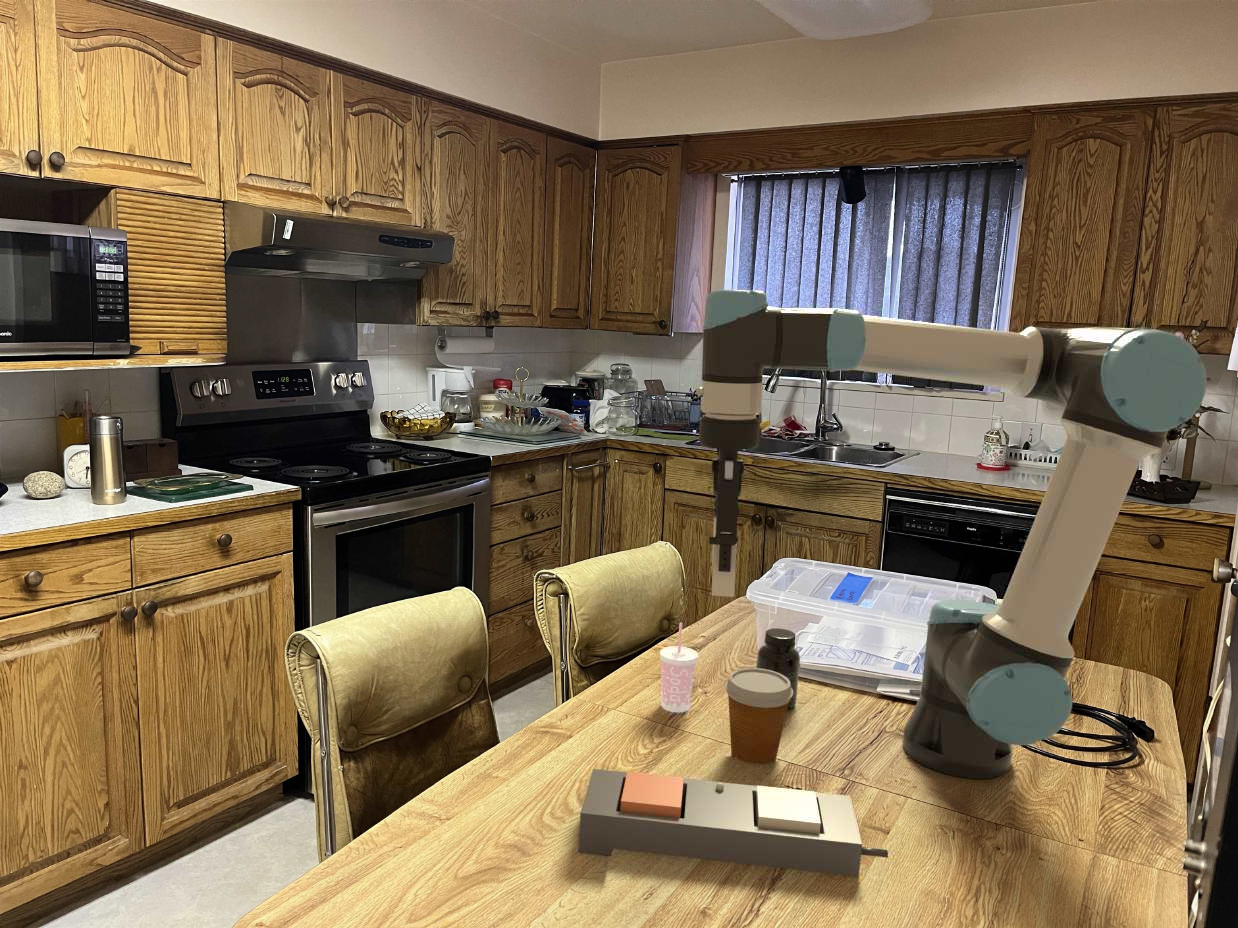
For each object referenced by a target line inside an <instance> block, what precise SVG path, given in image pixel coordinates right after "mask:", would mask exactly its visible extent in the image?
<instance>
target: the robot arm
mask: <svg viewBox="0 0 1238 928" xmlns="http://www.w3.org/2000/svg"><path fill="white" fill-rule="evenodd" d="M767 299H768V298H767V294H766V292H764V291H763V290H745V289H743V290H742V289H715V290H712V291H710V293H708V295H707V296H706V299H705V307H704V308H705V309H704V318H703V325H702V331H703V332H702V361H701V364H702V365H701V385H702V386H703V387H702V386H701V387H697V388H696V389H695V392H696V393H695V394H696V395H697V396H702V397H701V399H700V411H701V412H702V413H704V414H703V415H701V417H699V428H698V429H699V431H698V432H699V433H698V442H699V445H701V447H702V446H703V447H705V448H707V449H716V452H717V458H711V460H712V461H711V476H712V479H713V480H712V484H713V486H712V487H713V489H712V490H713V491H712V493H713V495H714V496H715V501H713V505H714V509H713V513H714V516H713V526H712V527H713V529H712V530H713V531H712V532H713V533H712V536H709V537H708V544H709V545H712V552H711V565H712V579H711V580H712V581H711V596H713V597H729V598H730V597H731V598H732V597H733V598H734V597H735V586H736V585H735V584H736V582H735V581H736V565H737V563H736V562H737V543H738V541H739V537H738V517H739V509H740V508H739V497H741V494H742V484H743V482H742V481H743V480H742V479H743V478H744V473H745V464H744V460H743V459H739V451H741V450H744V451H749V450H753V449H755V448H758V446H759V445H760V431H761V420H759V418H758V417H757V415H760V414H761V412H762V404H763V403H762V402H763V373H764V369H771V370H774V369H775V370H776V369H785V370H786V369H788V370H801V371H802V370H803V371H804V370H805V371H829V372H831V373H834V372H837V371H861V372H862V371H863V372H868V373H869V372H870V373H878V374H885V375H886V374H887V375H895V376H902V377H910V378H911V377H912V378H917V379H918V378H919V379H928V380H936V381H944V382H953V383H961V384H962V383H963V384H971V385H978V386H987V387H995V388H1002V389H1003V388H1004V389H1010V391H1011V392H1012V394H1013V395H1014V396H1015V397H1019V398H1025V399H1027V398H1028V399H1033V400H1039V401H1043V402H1046V403H1047V402H1048V403H1050V404H1054V405H1057V406H1059V407H1064V408H1065V409H1064V410H1063V413H1062V415H1061V417H1060V423H1061V425H1062V427H1063V429H1064V432H1066V441H1065V444H1064V446H1063V448H1062V450H1061V454H1060V456H1059V459H1058V460H1057V463H1056V465H1055V468H1054V471H1053V473H1052V475H1051V478H1050V481H1049V483H1048V486H1047V489H1046V490H1045V494H1044V496H1043V498H1042V501H1041V503H1040V506H1039V508H1038V511H1037V512H1036V516H1035V518H1034V521H1033V524H1032V525H1031V528H1030V531H1029V534H1028V536H1027V538H1026V541H1025V543H1024V547H1023V549H1022V551H1021V553H1020V556H1019V558H1018V561H1017V564H1016V566H1015V569H1014V572H1013V574H1012V576H1011V579H1010V581H1009V583H1008V587H1007V588H1006V591H1005V593H1004V596H1003V599H1002V602H1001V604H1000V605H998V604H993V603H987V602H983V601H973V600H963V599H962V600H960V599H954V600H951V599H948V600H942V601H938V602H936V603H934V604H933V606H932V607H931V608H930V612H929V613H930V614H929V617H928V621H927V622H926V623H927V624H926V625H927V632H926V633H927V634H926V640H925V641H926V643H925V649H924V650H925V651H924V659H923V661H924V662H923V670H922V679H921V688H920V694H919V695H920V696H919V699H918V701H917V702H916V704H915V706H914V709H913V711H912V712H911V715H910V716H909V718H908V720H907V722H906V724H905V726H904V728H903V735H902V736H903V738H902V747H903V749H904V751H905V752H906V753H907V754H908V756H910V758H912V759H914V761H916V762H918V763H919V764H921V765H923V766H925V767H927V768H929V769H932V770H935V772H939V773H944V774H946V775H950V776H953V777H959V778H964V779H965V778H968V779H978V780H979V779H981V780H983V779H992V778H998V777H1000V776H1002V775H1004V774H1006V773H1008V771H1009V770H1010V769H1011V765H1012V756H1013V748H1012V745H1014V746H1027V745H1028V746H1029V745H1034V744H1036V743H1037V742H1040V741H1041V740H1047V739H1049V738H1050V737H1052V736H1054V735H1055V734H1057V733H1058V732H1059V731H1060V730H1061V729H1062V728H1063V726H1064V725H1065V724H1066V722H1067V721H1068V719H1069V717H1070V714H1071V712H1072V709H1073V696H1072V692H1071V689H1070V686H1069V683H1068V681H1067V680H1066V676H1067V674H1068V671H1069V669H1070V667H1071V665H1072V662H1073V660H1074V658H1075V651H1074V648H1073V646H1072V645H1071V642H1070V640H1069V635H1070V631H1071V629H1072V627H1073V625H1074V623H1075V622H1074V621H1075V620H1076V617H1077V615H1078V612H1079V609H1080V607H1081V605H1082V602H1083V600H1084V598H1085V595H1086V593H1087V590H1088V588H1089V586H1090V584H1091V581H1092V578H1093V576H1094V575H1095V571H1096V569H1097V567H1098V564H1099V562H1100V560H1101V558H1102V557H1101V556H1102V555H1103V552H1104V550H1105V548H1106V547H1105V546H1106V545H1107V542H1108V540H1109V537H1110V536H1111V533H1112V531H1113V528H1114V526H1115V523H1116V520H1117V518H1118V516H1119V513H1120V511H1121V509H1122V506H1123V504H1124V501H1125V499H1126V497H1127V494H1128V492H1129V490H1130V487H1131V485H1132V482H1133V479H1134V478H1135V475H1136V472H1137V470H1138V469H1139V466H1140V463H1141V462H1142V461H1143V459H1145V458H1147V457H1149V456H1151V455H1154V454H1157V453H1160V452H1161V449H1162V447H1163V444H1164V442H1165V439H1166V438H1167V435H1168V434H1169V431H1170V430H1172V429H1175V428H1177V427H1179V426H1180V425H1182V423H1185V422H1188V420H1190V419H1192V417H1193V416H1194V415H1195V414H1196V412H1197V411H1198V410H1199V409H1200V407H1201V405H1202V402H1203V401H1204V397H1205V396H1206V395H1205V394H1206V390H1207V372H1206V368H1205V367H1206V366H1205V364H1204V362H1203V361H1202V360H1201V356H1200V354H1199V353H1198V351H1197V350H1196V348H1195V347H1194V346H1193V345H1192V344H1191V343H1190V342H1189V341H1187V340H1186V339H1184V338H1183V337H1181V336H1179V335H1176V334H1174V333H1172V332H1169V331H1168V332H1167V331H1164V330H1160V329H1153V328H1150V327H1146V326H1145V327H1144V326H1143V327H1133V328H1132V327H1131V328H1130V327H1111V326H1090V327H1079V328H1078V327H1075V328H1074V327H1073V328H1072V327H1071V328H1045V327H1037V326H1035V327H1034V326H1028V327H1026V328H1025V329H1023V330H1022V331H1021V332H1014V331H1005V330H1004V331H1002V330H995V329H988V328H987V329H985V328H978V327H971V326H970V327H968V326H961V325H952V324H945V323H944V324H942V323H934V322H933V323H932V322H924V321H915V320H907V319H901V318H889V317H882V316H874V315H873V316H872V315H863V314H862V313H861V312H860V311H859V310H853V309H843V308H842V309H841V308H839V307H834V308H820V307H819V308H816V307H815V308H814V307H813V308H809V307H807V308H806V307H801V306H800V307H799V306H798V307H797V306H790V307H775V306H769V303H768V301H767Z"/></svg>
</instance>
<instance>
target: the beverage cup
mask: <svg viewBox="0 0 1238 928" xmlns="http://www.w3.org/2000/svg"><path fill="white" fill-rule="evenodd" d="M678 627H679V628H678V639H677V646H676V645H673V646H671V645H670V646H666V647H665V646H664V647H663V648H661V649H660V651H659V658H660V664H661V665H660V666H661V667H660V671H661V672H660V677H661V678H660V679H661V680H660V691H661V692H660V693H661V695H660V702H661V704H660V705H661V708H662V709H663V710H665V711H667V712H671V713H684V712H687V711H688V710H690V709H691V707H690V706H691V699H692V693H693V687H694V686H693V685H694V680H695V678H694V677H695V670H696V663H697V662H698V660H699V659H698V658H699V654H698V652H697V651H696V650H695V649H692V648H691V647H690V648H689V647H687V646H682V639H683V638H682V636H683V622H679V626H678Z"/></svg>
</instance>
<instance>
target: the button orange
mask: <svg viewBox="0 0 1238 928" xmlns="http://www.w3.org/2000/svg"><path fill="white" fill-rule="evenodd" d="M626 772H627V776H626V780H625V785H624V789H623V794H622V799H621V810H620V812H628V813H637V814H646V815H655V816H665V817H674V818H682V813H681V809H682V795H683V780H684V778H685V777H684V776H675V775H674V776H673V775H665V774H658V773H657V774H656V773H646V772H640V771H637V772H636V771H626Z"/></svg>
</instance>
